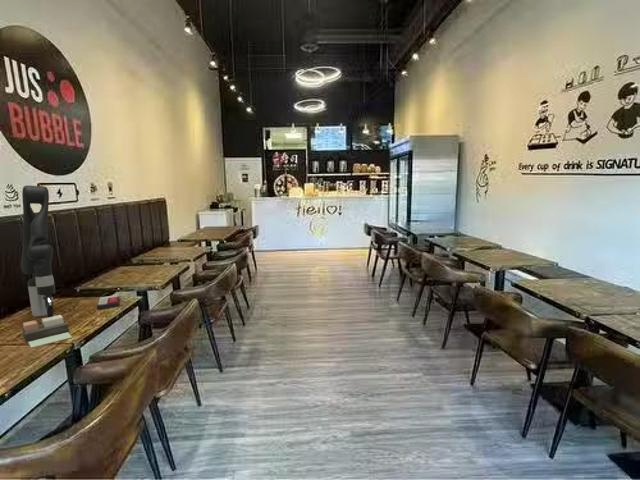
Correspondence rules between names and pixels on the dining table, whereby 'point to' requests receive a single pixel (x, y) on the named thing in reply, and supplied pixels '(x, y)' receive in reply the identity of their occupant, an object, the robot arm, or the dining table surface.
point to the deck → (45, 331)
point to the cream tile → (52, 321)
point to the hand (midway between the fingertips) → (50, 317)
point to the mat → (49, 340)
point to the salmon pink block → (30, 326)
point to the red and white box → (108, 302)
